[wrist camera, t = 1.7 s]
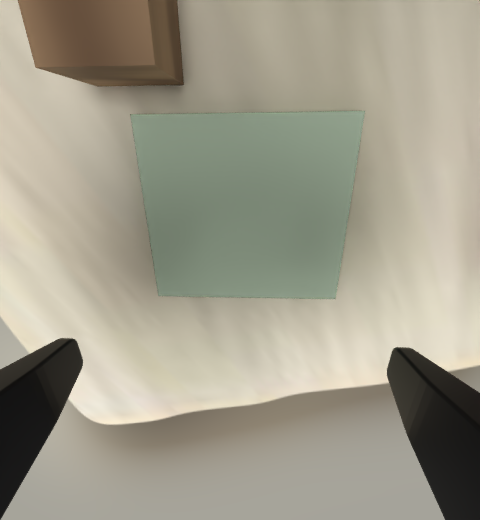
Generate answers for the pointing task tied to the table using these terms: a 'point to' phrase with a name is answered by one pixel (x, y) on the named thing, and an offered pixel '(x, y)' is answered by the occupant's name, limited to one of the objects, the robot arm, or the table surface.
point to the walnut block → (106, 40)
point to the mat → (247, 200)
